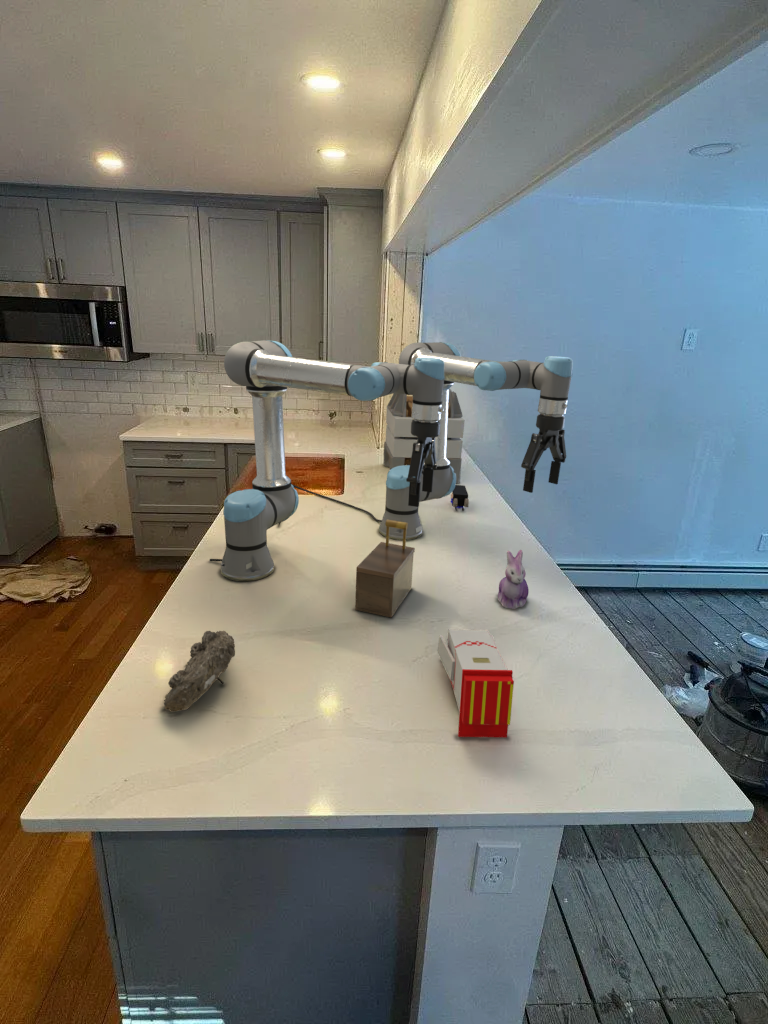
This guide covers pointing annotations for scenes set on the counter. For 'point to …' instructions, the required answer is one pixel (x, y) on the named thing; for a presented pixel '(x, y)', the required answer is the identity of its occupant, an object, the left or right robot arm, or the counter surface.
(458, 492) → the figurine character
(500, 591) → the figurine
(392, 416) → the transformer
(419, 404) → the left robot arm
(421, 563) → the counter surface
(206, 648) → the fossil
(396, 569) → the lid
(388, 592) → the chest
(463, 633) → the toy
